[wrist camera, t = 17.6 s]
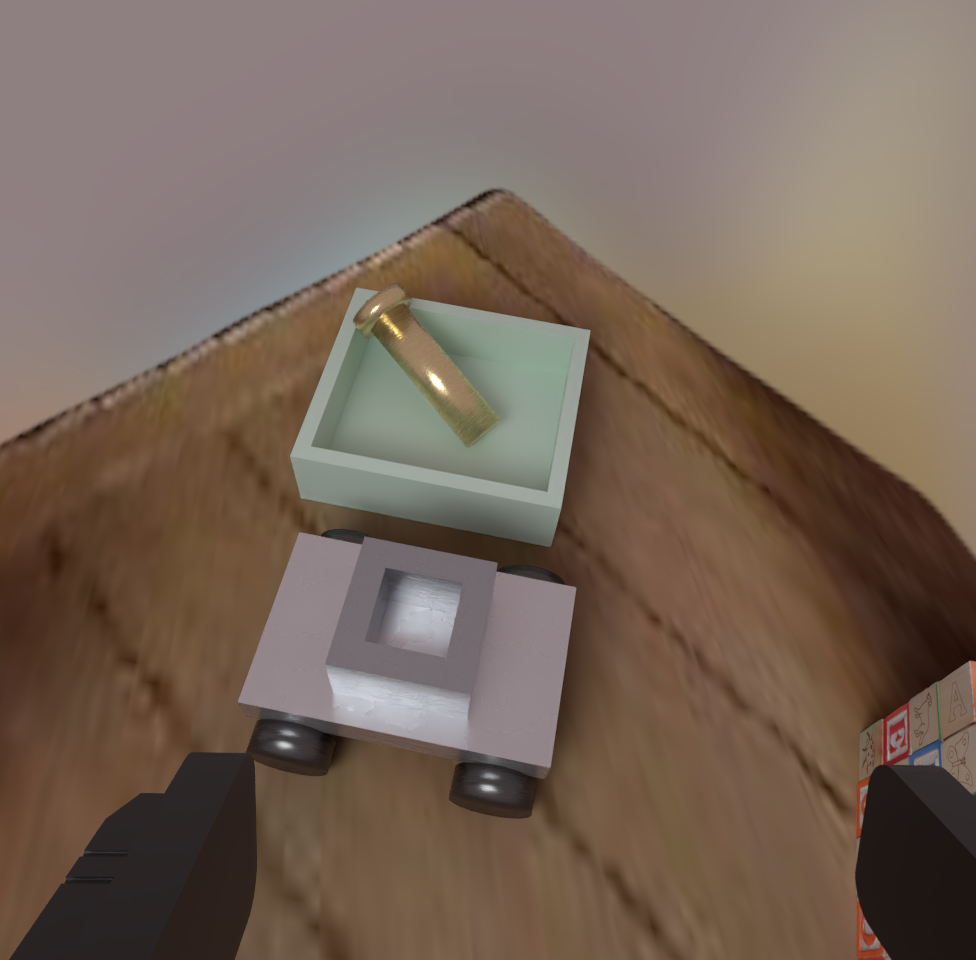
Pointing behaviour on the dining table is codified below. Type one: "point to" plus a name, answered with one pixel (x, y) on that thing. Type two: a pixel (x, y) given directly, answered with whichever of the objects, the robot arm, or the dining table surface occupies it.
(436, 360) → the pin
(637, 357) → the dining table surface
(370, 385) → the tray
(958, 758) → the stack of blocks
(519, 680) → the trolley
